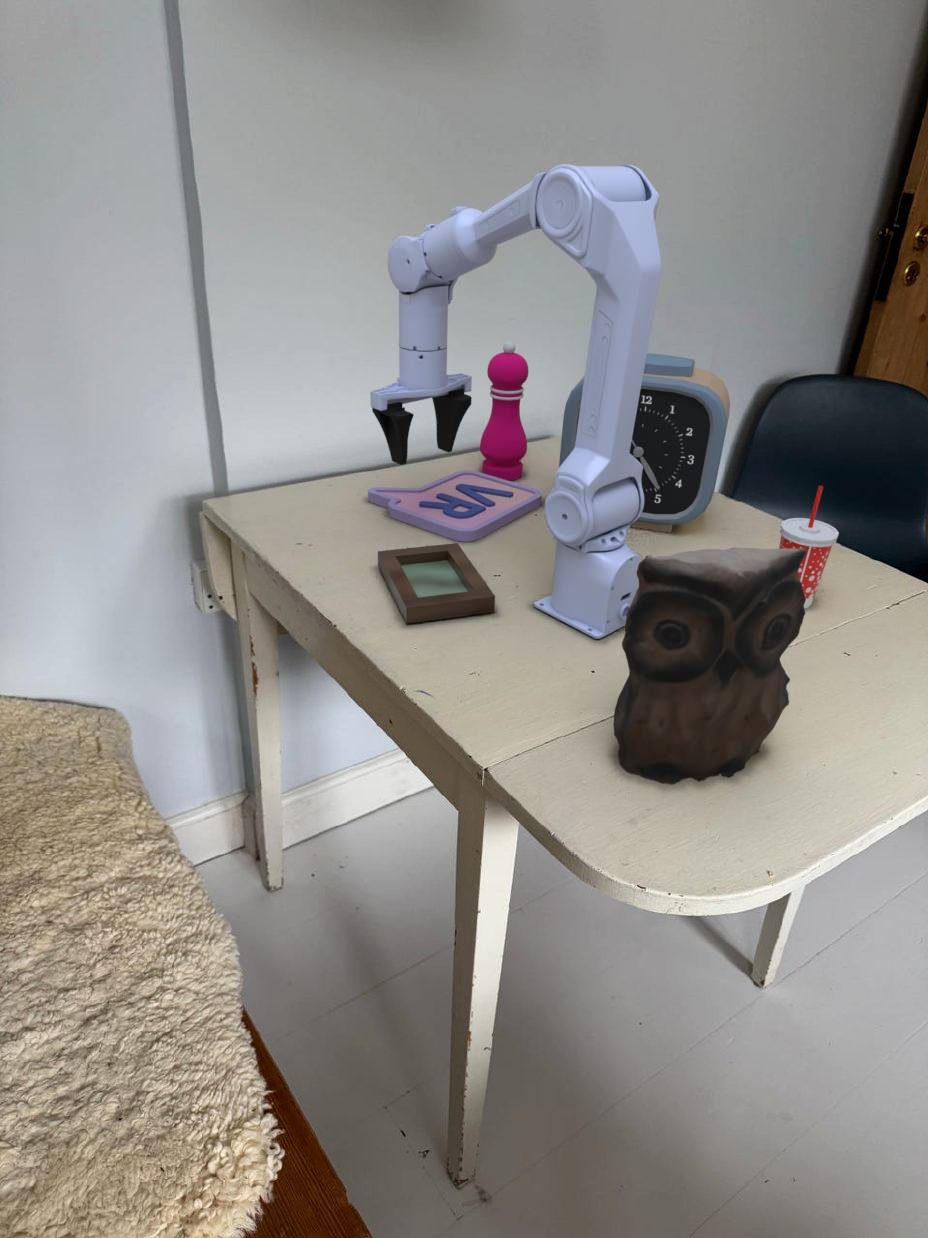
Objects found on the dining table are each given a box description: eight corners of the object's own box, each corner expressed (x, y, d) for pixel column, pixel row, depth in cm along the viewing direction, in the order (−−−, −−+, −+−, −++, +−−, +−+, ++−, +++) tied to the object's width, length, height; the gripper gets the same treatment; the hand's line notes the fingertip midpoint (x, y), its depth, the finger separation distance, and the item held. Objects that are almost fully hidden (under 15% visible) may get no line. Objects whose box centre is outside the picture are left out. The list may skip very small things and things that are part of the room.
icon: (439, 460, 131) (548, 492, 120) (439, 469, 131) (547, 501, 121) (354, 494, 117) (468, 534, 107) (354, 504, 118) (467, 544, 108)
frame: (494, 612, 93) (495, 596, 92) (406, 623, 90) (406, 607, 89) (457, 557, 104) (457, 542, 103) (377, 566, 101) (377, 551, 100)
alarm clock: (553, 517, 117) (568, 358, 106) (567, 493, 124) (582, 343, 113) (704, 541, 111) (736, 376, 100) (709, 514, 119) (740, 359, 108)
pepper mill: (503, 462, 135) (511, 334, 125) (534, 476, 130) (545, 343, 120) (469, 471, 131) (474, 339, 121) (500, 485, 126) (507, 349, 116)
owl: (779, 750, 74) (837, 543, 64) (715, 827, 65) (770, 603, 55) (651, 693, 81) (686, 498, 70) (578, 756, 72) (606, 545, 62)
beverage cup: (816, 591, 100) (847, 480, 93) (821, 616, 95) (854, 500, 88) (763, 583, 101) (789, 473, 94) (764, 607, 96) (793, 492, 89)
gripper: (446, 332, 107) (444, 436, 113) (353, 347, 98) (357, 459, 105) (484, 343, 102) (480, 450, 109) (391, 359, 93) (392, 475, 100)
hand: (422, 455), depth 107 cm, fingers open, 7 cm apart
